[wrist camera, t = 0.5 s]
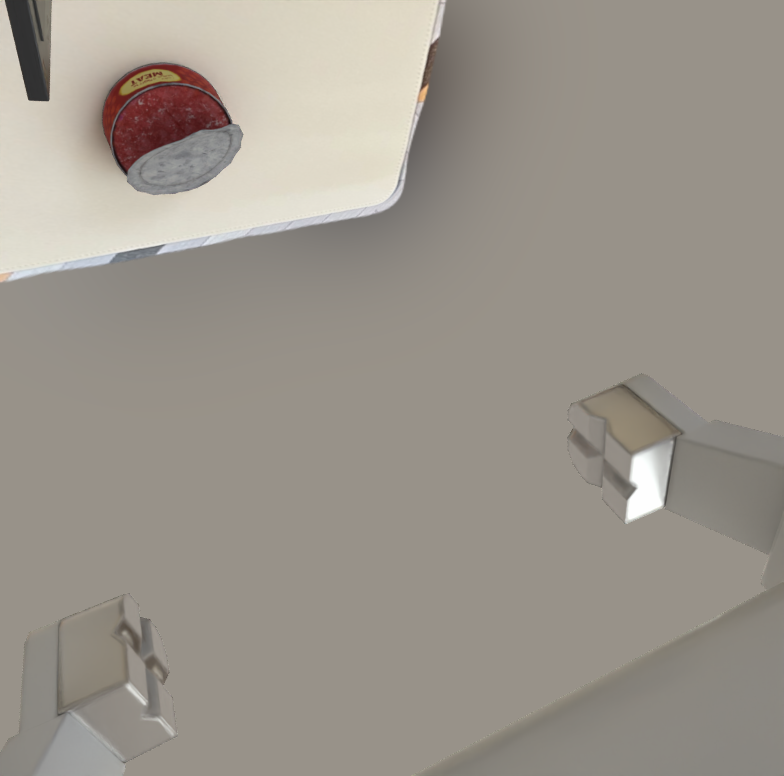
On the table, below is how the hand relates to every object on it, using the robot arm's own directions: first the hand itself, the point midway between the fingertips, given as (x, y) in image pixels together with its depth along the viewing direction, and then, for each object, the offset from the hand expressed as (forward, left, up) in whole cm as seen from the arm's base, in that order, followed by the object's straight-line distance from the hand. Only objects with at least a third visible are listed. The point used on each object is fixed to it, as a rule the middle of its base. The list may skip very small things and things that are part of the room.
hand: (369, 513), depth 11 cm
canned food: (+20, -12, -47) cm, 53 cm away
